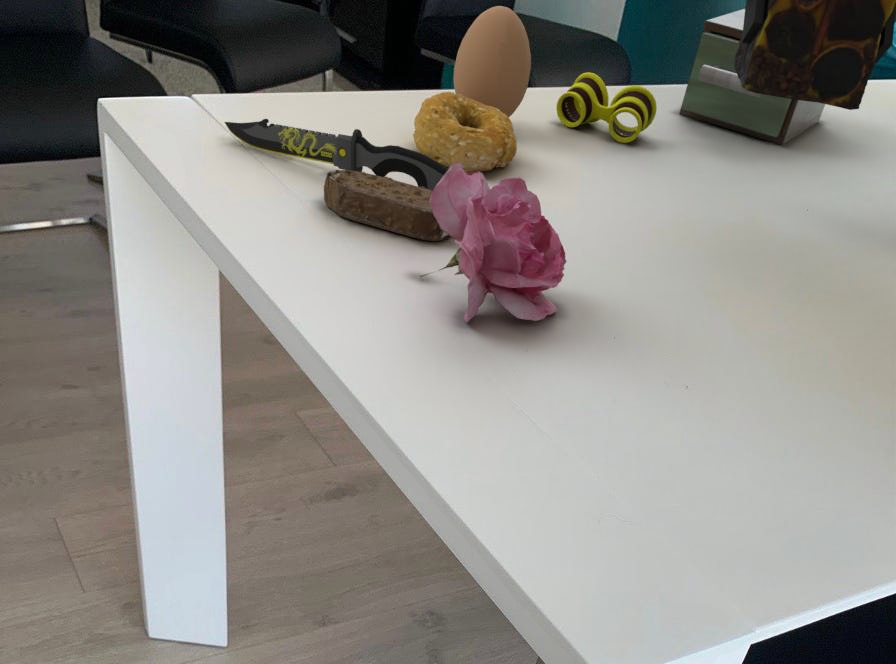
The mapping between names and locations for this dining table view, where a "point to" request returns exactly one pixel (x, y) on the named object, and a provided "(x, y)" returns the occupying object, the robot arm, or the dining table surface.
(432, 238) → the ice cream bar
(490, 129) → the bagel
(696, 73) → the drawer
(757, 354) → the dining table surface
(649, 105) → the opera glasses
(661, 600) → the dining table surface
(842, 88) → the candle
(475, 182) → the flower
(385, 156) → the knife
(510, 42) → the egg
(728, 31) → the cabinet
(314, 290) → the dining table surface
